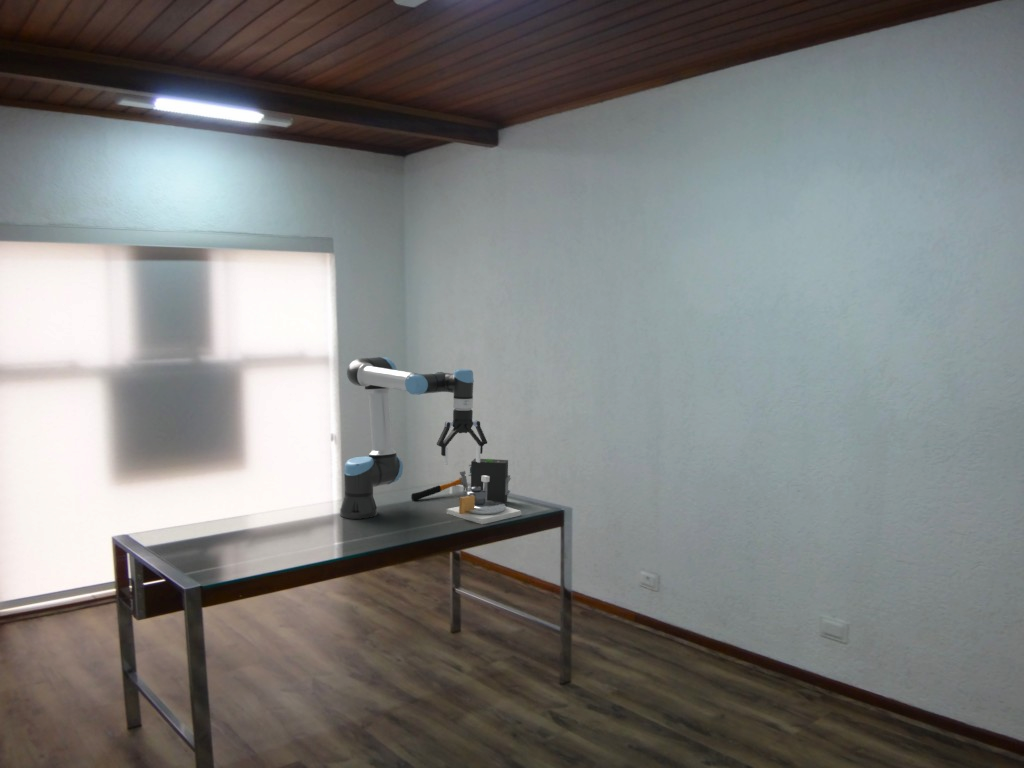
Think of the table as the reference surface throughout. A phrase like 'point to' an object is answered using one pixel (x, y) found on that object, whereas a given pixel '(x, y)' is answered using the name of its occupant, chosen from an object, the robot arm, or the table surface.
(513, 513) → the turntable base
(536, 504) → the table surface
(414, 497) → the hammer
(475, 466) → the router
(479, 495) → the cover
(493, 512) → the turntable
